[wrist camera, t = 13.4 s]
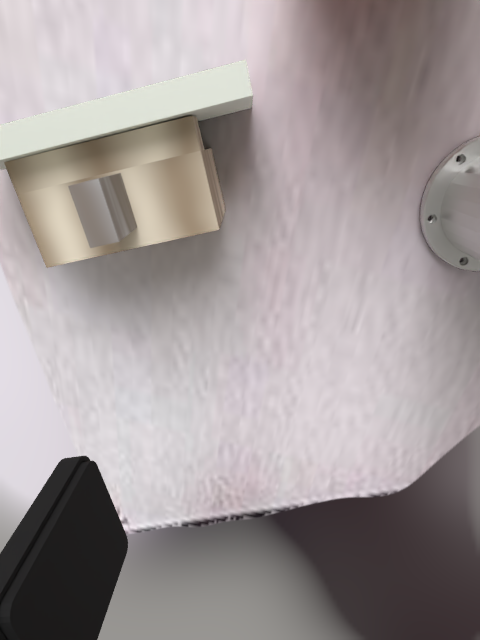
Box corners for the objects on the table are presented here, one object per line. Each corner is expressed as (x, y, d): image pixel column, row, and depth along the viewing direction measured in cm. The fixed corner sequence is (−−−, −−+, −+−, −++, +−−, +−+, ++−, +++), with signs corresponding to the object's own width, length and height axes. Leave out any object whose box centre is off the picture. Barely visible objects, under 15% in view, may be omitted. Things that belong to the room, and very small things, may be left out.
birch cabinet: (205, 121, 39) (181, 111, 25) (225, 209, 42) (214, 244, 28) (60, 156, 40) (-39, 166, 26) (89, 240, 43) (14, 287, 29)
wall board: (246, 83, 38) (245, 59, 26) (251, 107, 38) (252, 95, 27) (3, 146, 40) (-91, 148, 29) (12, 168, 41) (-76, 179, 30)
